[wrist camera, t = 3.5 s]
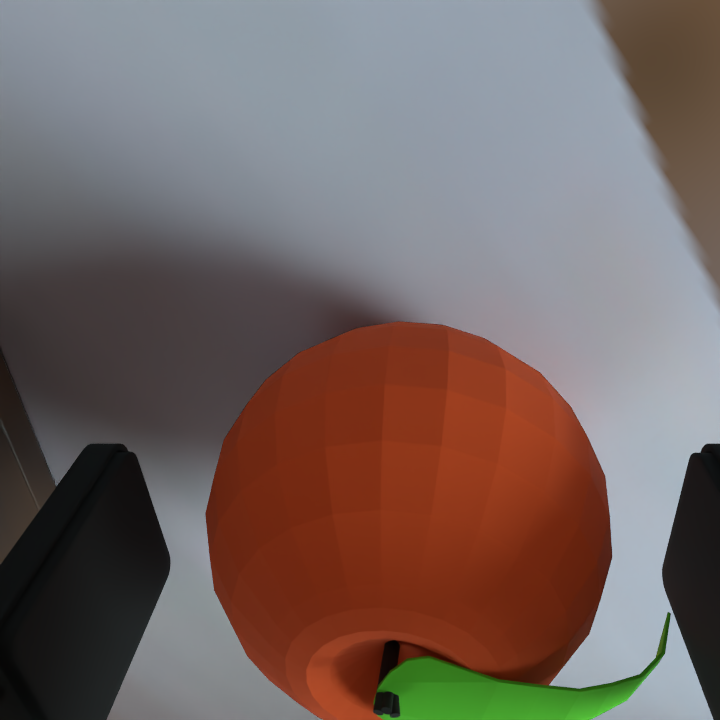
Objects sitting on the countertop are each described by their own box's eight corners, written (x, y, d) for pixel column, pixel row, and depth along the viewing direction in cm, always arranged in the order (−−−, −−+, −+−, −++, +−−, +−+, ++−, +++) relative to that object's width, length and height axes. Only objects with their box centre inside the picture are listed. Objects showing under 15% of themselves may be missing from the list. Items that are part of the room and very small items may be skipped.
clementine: (675, 308, 12) (894, 618, 6) (562, 550, 16) (632, 896, 10) (276, 230, 13) (118, 460, 7) (252, 488, 16) (136, 791, 10)
